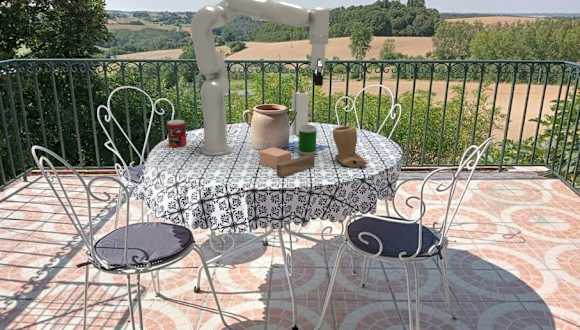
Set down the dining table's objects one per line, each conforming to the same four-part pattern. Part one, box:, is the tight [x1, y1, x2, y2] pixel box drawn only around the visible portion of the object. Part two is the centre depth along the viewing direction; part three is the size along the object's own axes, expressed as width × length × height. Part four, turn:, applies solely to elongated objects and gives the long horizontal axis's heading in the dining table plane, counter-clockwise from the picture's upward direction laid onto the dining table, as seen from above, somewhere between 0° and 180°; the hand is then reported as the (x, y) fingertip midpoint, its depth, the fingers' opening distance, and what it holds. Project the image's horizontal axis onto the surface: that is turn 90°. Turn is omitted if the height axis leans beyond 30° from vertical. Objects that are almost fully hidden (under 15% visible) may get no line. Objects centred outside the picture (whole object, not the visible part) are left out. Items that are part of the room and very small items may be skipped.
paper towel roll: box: [291, 91, 310, 137], centre depth 220 cm, size 7×6×21 cm
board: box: [276, 154, 316, 178], centre depth 170 cm, size 3×18×4 cm, turn 136°
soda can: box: [298, 124, 318, 156], centre depth 190 cm, size 8×8×12 cm
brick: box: [258, 146, 292, 170], centre depth 178 cm, size 10×8×6 cm
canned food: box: [166, 119, 187, 148], centre depth 202 cm, size 8×8×11 cm
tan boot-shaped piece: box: [332, 125, 368, 168], centre depth 178 cm, size 15×12×15 cm
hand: (317, 83), depth 182 cm, fingers open, 9 cm apart
